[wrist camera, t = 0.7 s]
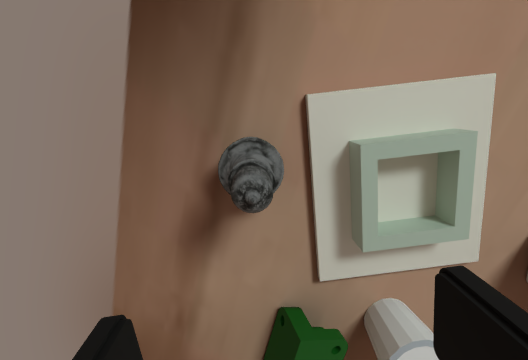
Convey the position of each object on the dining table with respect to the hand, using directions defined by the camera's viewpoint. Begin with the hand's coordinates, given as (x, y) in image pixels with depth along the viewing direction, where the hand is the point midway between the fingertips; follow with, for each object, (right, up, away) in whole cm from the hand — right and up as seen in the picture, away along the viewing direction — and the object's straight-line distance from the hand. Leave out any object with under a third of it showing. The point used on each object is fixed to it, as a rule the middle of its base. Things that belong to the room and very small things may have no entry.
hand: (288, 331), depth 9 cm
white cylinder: (+14, -12, +26) cm, 32 cm away
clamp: (+3, -15, +27) cm, 31 cm away
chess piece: (-2, +6, +20) cm, 21 cm away
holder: (+13, +4, +22) cm, 26 cm away
